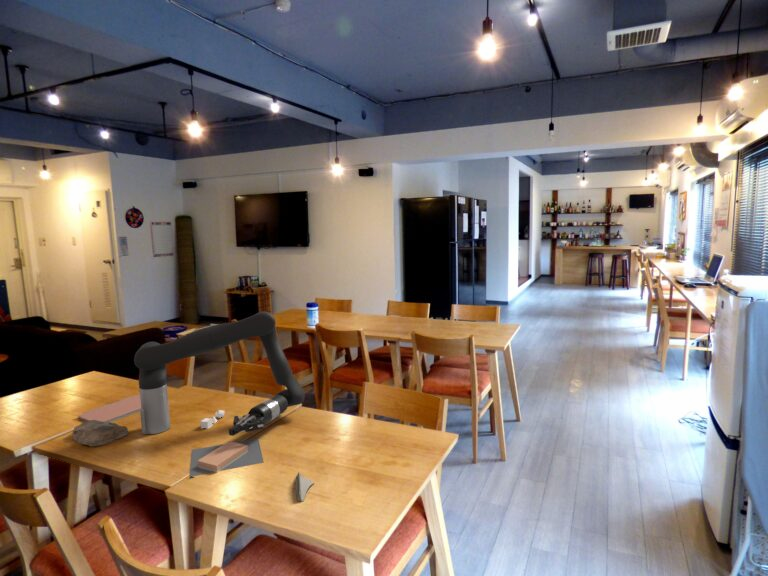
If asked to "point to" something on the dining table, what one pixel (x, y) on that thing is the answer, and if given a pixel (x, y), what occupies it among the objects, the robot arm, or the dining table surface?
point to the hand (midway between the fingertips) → (230, 432)
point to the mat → (247, 459)
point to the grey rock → (98, 432)
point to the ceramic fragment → (302, 487)
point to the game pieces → (208, 422)
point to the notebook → (114, 410)
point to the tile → (222, 456)
